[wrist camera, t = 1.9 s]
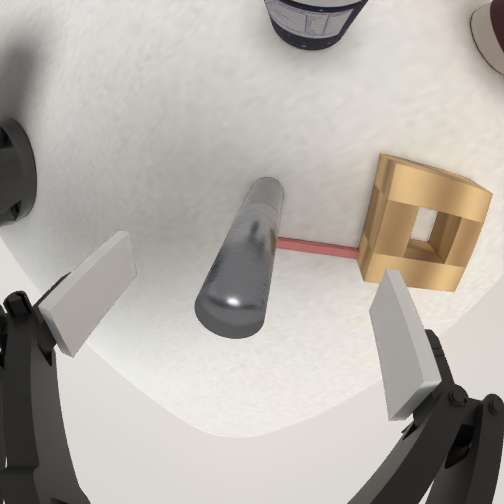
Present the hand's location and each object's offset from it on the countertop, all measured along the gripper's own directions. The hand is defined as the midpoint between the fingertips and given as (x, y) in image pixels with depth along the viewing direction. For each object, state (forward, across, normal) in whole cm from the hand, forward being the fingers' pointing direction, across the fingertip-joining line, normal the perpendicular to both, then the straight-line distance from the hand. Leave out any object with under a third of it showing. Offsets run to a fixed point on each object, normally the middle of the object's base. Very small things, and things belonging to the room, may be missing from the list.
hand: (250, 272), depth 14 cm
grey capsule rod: (+12, 0, 0) cm, 12 cm away
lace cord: (+12, +2, -4) cm, 13 cm away
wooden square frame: (+12, +14, 0) cm, 18 cm away
